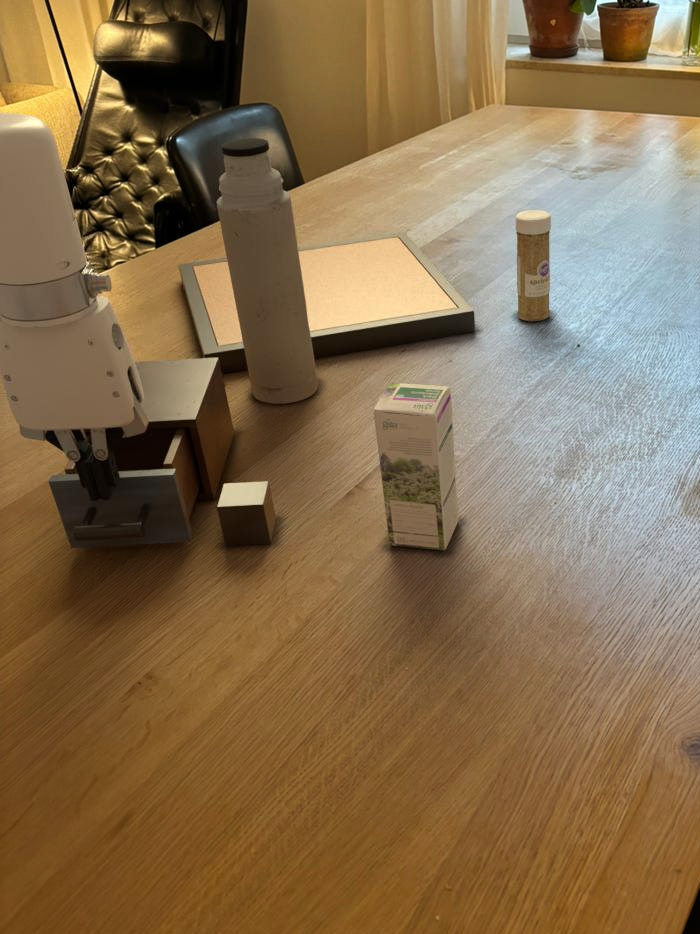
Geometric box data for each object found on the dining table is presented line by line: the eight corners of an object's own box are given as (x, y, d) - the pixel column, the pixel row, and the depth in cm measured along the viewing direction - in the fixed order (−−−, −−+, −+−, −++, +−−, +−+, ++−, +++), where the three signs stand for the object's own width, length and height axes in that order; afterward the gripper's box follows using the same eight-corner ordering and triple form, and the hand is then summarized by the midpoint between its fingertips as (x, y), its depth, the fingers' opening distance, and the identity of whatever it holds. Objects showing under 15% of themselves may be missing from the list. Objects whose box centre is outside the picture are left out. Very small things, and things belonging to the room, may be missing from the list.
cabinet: (214, 499, 106) (195, 419, 100) (91, 506, 106) (65, 426, 100) (234, 432, 117) (218, 357, 111) (123, 439, 117) (102, 363, 111)
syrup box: (460, 520, 101) (452, 382, 92) (445, 553, 96) (435, 412, 87) (404, 515, 102) (391, 378, 93) (387, 548, 97) (371, 407, 88)
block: (225, 546, 99) (216, 507, 96) (232, 521, 102) (223, 483, 99) (271, 543, 99) (263, 504, 96) (276, 519, 102) (268, 480, 99)
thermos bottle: (239, 397, 124) (189, 148, 106) (277, 371, 130) (236, 130, 112) (294, 408, 121) (252, 154, 104) (330, 381, 127) (296, 135, 109)
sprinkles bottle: (539, 324, 138) (539, 221, 130) (510, 318, 140) (508, 216, 132) (556, 313, 141) (557, 211, 132) (527, 307, 143) (527, 207, 134)
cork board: (406, 250, 163) (182, 283, 156) (405, 232, 162) (178, 264, 154) (475, 331, 137) (208, 376, 129) (474, 310, 135) (203, 354, 127)
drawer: (181, 570, 94) (163, 501, 90) (57, 577, 94) (32, 508, 90) (213, 471, 108) (198, 407, 104) (105, 477, 108) (86, 413, 104)
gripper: (149, 270, 84) (194, 468, 95) (-35, 278, 83) (33, 475, 95) (129, 306, 78) (180, 511, 90) (-69, 314, 78) (7, 519, 89)
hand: (104, 492), depth 92 cm, fingers closed
